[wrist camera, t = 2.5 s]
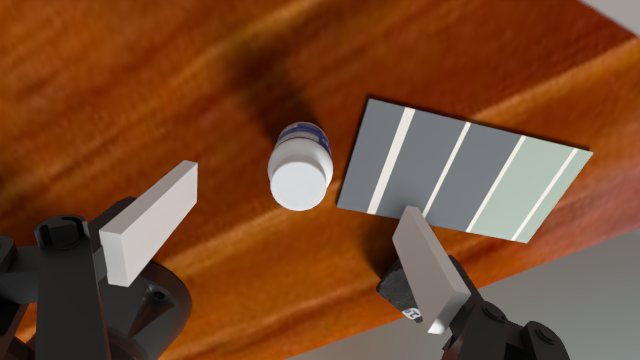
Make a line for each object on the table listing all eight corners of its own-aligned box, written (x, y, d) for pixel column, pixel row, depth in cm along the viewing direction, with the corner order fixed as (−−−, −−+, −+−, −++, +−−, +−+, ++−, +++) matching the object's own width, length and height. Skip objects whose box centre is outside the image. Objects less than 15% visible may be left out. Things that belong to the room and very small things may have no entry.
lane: (336, 205, 29) (336, 207, 29) (368, 97, 24) (369, 98, 24) (524, 241, 32) (527, 243, 32) (589, 151, 27) (593, 152, 27)
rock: (463, 265, 34) (489, 302, 29) (411, 301, 37) (426, 341, 32) (412, 222, 31) (431, 255, 26) (360, 264, 34) (367, 302, 29)
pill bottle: (329, 170, 28) (334, 219, 20) (279, 170, 28) (264, 219, 20) (329, 120, 25) (336, 152, 17) (275, 120, 25) (256, 153, 17)
